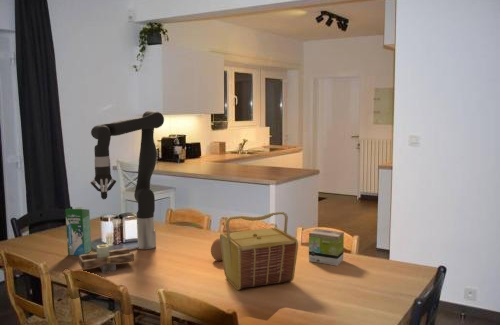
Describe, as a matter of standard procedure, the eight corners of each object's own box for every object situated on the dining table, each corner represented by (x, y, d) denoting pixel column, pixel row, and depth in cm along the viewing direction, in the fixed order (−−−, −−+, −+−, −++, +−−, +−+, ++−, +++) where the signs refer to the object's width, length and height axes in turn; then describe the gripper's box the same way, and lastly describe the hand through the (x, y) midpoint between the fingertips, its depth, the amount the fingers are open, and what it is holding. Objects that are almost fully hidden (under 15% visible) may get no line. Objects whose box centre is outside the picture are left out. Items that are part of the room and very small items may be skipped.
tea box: (308, 262, 239) (308, 232, 237) (315, 256, 247) (315, 228, 246) (337, 266, 232) (338, 236, 230) (343, 260, 240) (344, 231, 239)
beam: (128, 259, 246) (127, 247, 245) (135, 267, 233) (134, 254, 232) (78, 267, 235) (78, 254, 234) (83, 276, 222) (82, 262, 222)
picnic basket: (276, 267, 231) (275, 205, 228) (301, 285, 208) (300, 217, 204) (218, 275, 221) (216, 211, 217) (237, 296, 197) (235, 224, 194)
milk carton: (91, 250, 263) (89, 205, 260) (84, 255, 254) (81, 208, 251) (75, 250, 264) (73, 205, 261) (67, 255, 255) (65, 208, 252)
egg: (207, 261, 241) (207, 239, 239) (216, 257, 248) (216, 235, 247) (222, 264, 237) (221, 241, 236) (230, 259, 244) (230, 237, 243)
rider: (107, 257, 236) (106, 243, 235) (109, 260, 232) (108, 245, 231) (97, 258, 234) (96, 244, 233) (98, 261, 230) (98, 247, 229)
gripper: (114, 163, 249) (115, 196, 251) (87, 165, 243) (89, 199, 245) (117, 165, 243) (119, 199, 245) (90, 166, 237) (91, 201, 239)
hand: (104, 199), depth 245 cm, fingers closed
